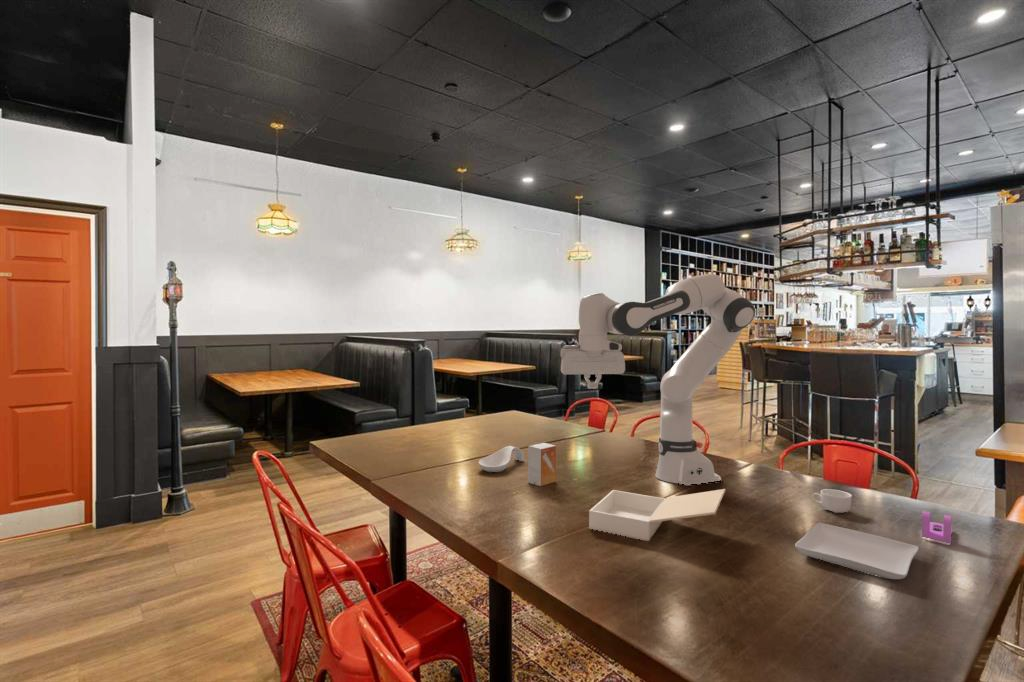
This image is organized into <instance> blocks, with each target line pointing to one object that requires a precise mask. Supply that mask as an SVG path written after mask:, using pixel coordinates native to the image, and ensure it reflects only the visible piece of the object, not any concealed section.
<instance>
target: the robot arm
mask: <svg viewBox="0 0 1024 682" xmlns="http://www.w3.org/2000/svg"><path fill="white" fill-rule="evenodd" d="M664 292H665V293H664V295H663V296H660V297H657V298H655V299H651V300H649V301H647V302H639V301H628V302H624V303H620V302H617V301H615V300H613V299H612V298H610V297H608V296H607V295H606V294H605V293H603V292H599V293H598V292H597V293H592V294H588V295H585V296H583V297H582V298H581V299H580V301H579V309H578V324H579V332H578V344H570V345H569V344H565V345H564V346H562V347H561V348H560V352H559V353H560V354H559V355H560V358H561V361H560V362H561V363H560V372H561V373H562V374H563V375H564V376H565V375H572V376H573V375H583V378H584V380H585V381H586V383H587V389H590V390H591V389H593V390H594V389H597V390H598V389H599V383H600V381H601V380H602V375H622V374H624V373H625V371H626V362H625V355H624V353H623V352H622V349H623V345H622V343H619V342H616V341H613V340H610V339H608V333H611V334H614V335H626V336H628V337H629V336H637V335H640V334H641V333H642V332H643V331H645V330H646V329H647V328H648V327H649V326H650V325H651V324H653V323H654V322H656V321H659V320H663V319H665V318H667V317H671V316H673V315H679V316H680V315H687V314H690V313H691V314H692V313H694V312H698V311H700V310H702V312H705V314H706V315H708V316H709V317H710V318H711V321H710V323H709V324H708V325H707V326H706V327H705V328H703V330H702V331H701V332H700V334H699V335H698V336H696V338H695V339H694V340H693V342H691V344H690V345H689V346H688V347H687V349H686V350H684V352H683V353H682V354H681V356H680V357H679V358H678V359H677V361H676V362H675V363H674V364H673V365H672V367H671V368H670V369H669V370H668V371H667V372H665V373H664V374H663V376H662V378H661V381H660V386H659V388H660V389H659V390H660V415H659V417H660V419H659V420H660V421H659V422H660V430H659V437H658V455H659V457H658V462H657V468H656V472H655V475H654V476H655V477H656V479H658V480H660V481H664V482H668V483H673V484H678V483H679V485H682V484H684V485H683V486H692V485H691V484H697V485H702V484H701V483H706V484H709V483H708V482H714V481H720V480H721V481H722V477H721V476H720V475H719V474H717V473H715V468H714V467H715V466H714V464H713V462H712V461H711V460H710V459H709V458H708V457H707V456H705V455H704V454H703V453H702V452H701V451H699V450H698V448H699V449H701V448H703V443H702V442H700V441H696V440H695V439H693V394H695V392H696V391H697V389H698V388H699V387H700V386H701V384H702V383H703V382H704V380H705V379H706V378H707V377H708V375H710V374H711V372H712V371H713V370H714V368H715V367H716V366H717V365H718V364H719V363H720V362H721V360H722V359H723V358H724V357H726V355H727V353H728V352H729V351H730V350H731V349H732V347H733V346H734V344H735V343H736V342H737V340H738V339H739V337H740V335H741V333H742V330H743V329H745V328H746V327H748V326H749V325H750V324H751V323H752V321H753V320H754V318H755V315H756V308H755V305H754V304H753V303H752V301H750V300H749V299H748V298H746V297H744V296H743V295H741V294H740V293H739V292H736V290H733V289H731V288H728V287H725V283H724V281H723V279H722V278H721V276H719V275H717V274H714V273H706V274H699V275H695V276H690V277H687V278H683V279H681V280H679V281H677V282H675V283H673V284H671V285H670V286H668V287H667V288H666V290H665V291H664ZM591 375H595V381H594V382H591V380H590V378H591Z"/></svg>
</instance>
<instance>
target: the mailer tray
mask: <svg viewBox="0 0 1024 682" xmlns="http://www.w3.org/2000/svg"><path fill="white" fill-rule="evenodd" d="M666 499H667V498H665V497H664V498H663V497H660V496H653V495H645V494H640V493H634V492H628V491H621V490H615V489H612V490H611V491H610V492H608V494H607V495H605V496H604V497H602V499H601V500H600V501H599V502H597V503H596V504H595V505H594V506H592V507H591V509H589V510H588V525H589V526H588V529H589V530H592V529H593V530H592V531H596V530H598V531H597V532H601V531H603V532H602V533H606V532H608V533H607V534H611V533H612V534H611V535H615V534H617V535H616V536H620V535H621V536H620V537H625V536H626V537H625V538H629V539H630V538H631V539H634V540H639V539H640V540H641V541H645V542H650V541H651V539H652V537H653V536H654V534H656V532H657V530H658V529H659V528H660V526H661V525H662V523H663V522H664V521H659V522H650V520H651V519H652V517H653V516H654V515H655V513H656V512H657V511H658V510H659V508H660V507H661V506H662V504H663V503H664V502H665V501H666Z"/></svg>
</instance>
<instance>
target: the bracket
mask: <svg viewBox="0 0 1024 682" xmlns="http://www.w3.org/2000/svg"><path fill="white" fill-rule="evenodd" d="M933 527H940V528H942V531H941V530H936V529H934V530H933ZM951 534H953V528H952V515H947V514H943V523H939V522H934V521H931V513H930V511H927V510H926V511H925V510H922V513H921V538H922V537H926V538H930V539H934V540H938V541H942V542H946V543H952V537H951Z"/></svg>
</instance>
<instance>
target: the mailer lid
mask: <svg viewBox="0 0 1024 682" xmlns="http://www.w3.org/2000/svg"><path fill="white" fill-rule="evenodd" d="M725 493H726V488H722V489H716V490H709V491H703V492H702V491H701V492H696V493H689V494H682V495H676V496H675V495H674V496H669V497H667V498H665V499H666V501H665V502H664V503H663V504H662V506H661V507H660V508H659V510H658V511H657V512H656V513H655V515H654V516H653V517H652V519H651V520H650V522H659V521H663V522H665V521H673V520H681V519H682V520H683V519H688V518H696V517H698V518H699V517H703V516H712V515H716V513H717V511H718V509H719V506H720V504H721V501H722V499H724V498H723V497H724V495H725Z"/></svg>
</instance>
